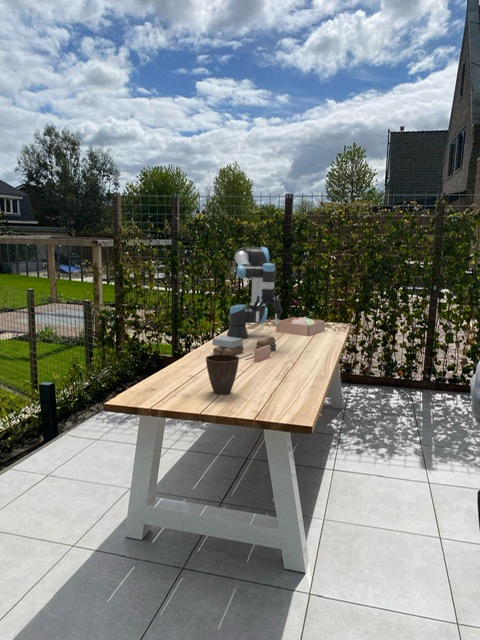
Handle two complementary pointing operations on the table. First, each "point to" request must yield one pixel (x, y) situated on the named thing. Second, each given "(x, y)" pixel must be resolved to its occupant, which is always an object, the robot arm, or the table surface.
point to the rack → (273, 347)
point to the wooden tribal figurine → (303, 321)
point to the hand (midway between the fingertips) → (266, 322)
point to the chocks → (241, 357)
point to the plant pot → (222, 372)
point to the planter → (300, 327)
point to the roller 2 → (233, 350)
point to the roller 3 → (265, 342)
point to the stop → (262, 353)
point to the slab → (227, 341)
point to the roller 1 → (218, 350)
